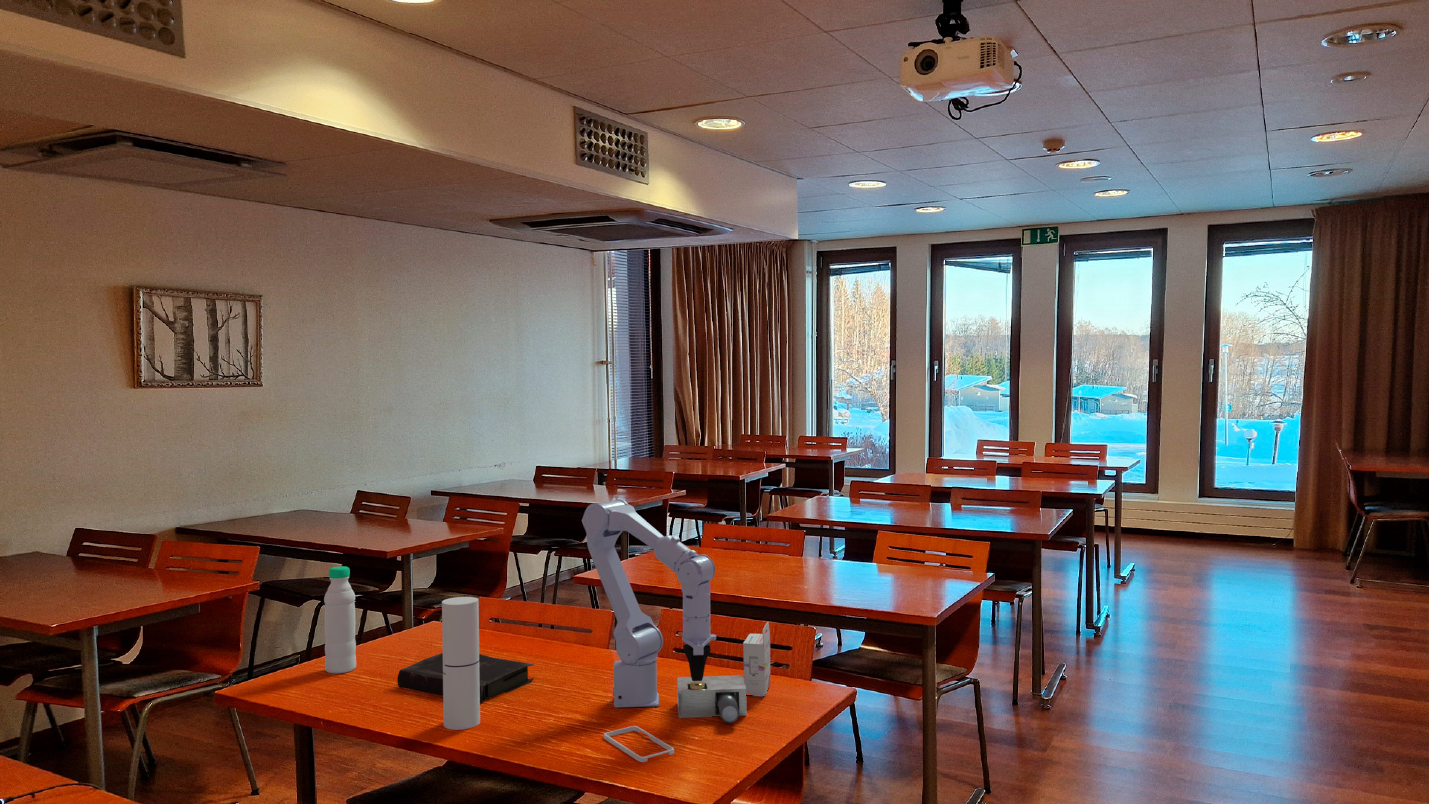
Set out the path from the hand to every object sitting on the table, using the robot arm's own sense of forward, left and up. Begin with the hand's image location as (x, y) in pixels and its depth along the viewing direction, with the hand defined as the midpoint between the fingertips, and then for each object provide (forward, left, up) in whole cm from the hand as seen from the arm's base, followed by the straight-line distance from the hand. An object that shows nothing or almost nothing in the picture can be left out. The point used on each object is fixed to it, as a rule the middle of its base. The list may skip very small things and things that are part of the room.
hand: (697, 680), depth 195 cm
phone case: (-12, -17, -8) cm, 22 cm away
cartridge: (+6, -3, -7) cm, 10 cm away
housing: (+3, +2, -7) cm, 8 cm away
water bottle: (-85, +38, -7) cm, 93 cm away
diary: (-52, +24, -8) cm, 58 cm away
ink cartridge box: (+14, +13, -7) cm, 21 cm away
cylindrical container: (-48, -2, -7) cm, 48 cm away
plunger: (0, 0, -3) cm, 3 cm away
